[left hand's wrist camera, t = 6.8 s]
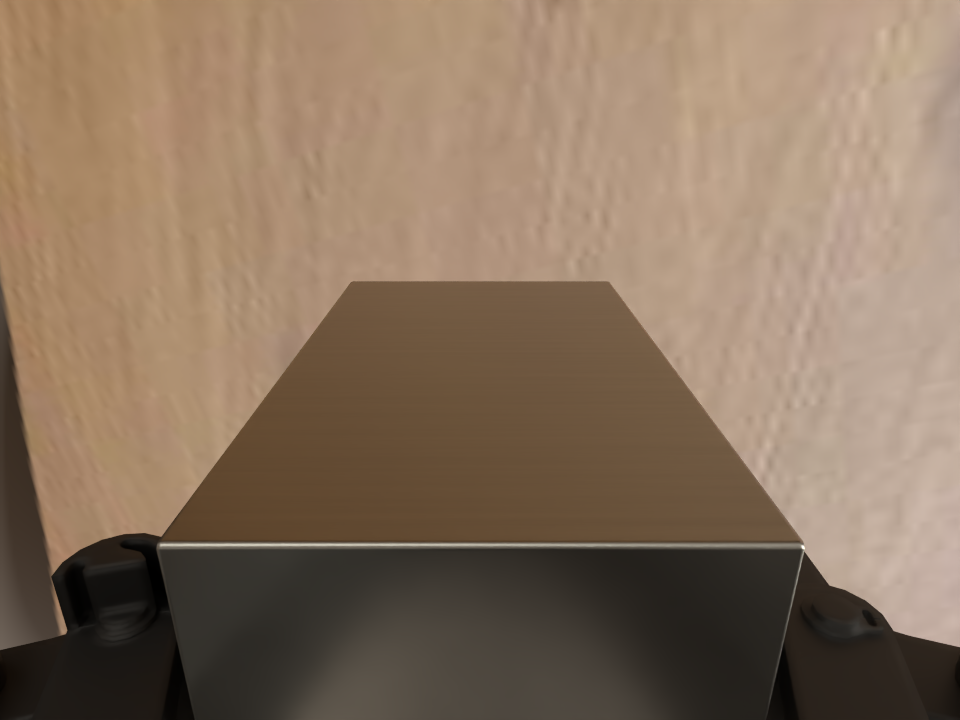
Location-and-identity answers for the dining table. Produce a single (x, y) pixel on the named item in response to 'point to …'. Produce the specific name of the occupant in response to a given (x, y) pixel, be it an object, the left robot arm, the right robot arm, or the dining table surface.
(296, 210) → the dining table surface
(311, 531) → the bar
